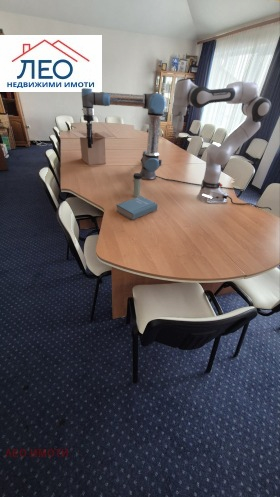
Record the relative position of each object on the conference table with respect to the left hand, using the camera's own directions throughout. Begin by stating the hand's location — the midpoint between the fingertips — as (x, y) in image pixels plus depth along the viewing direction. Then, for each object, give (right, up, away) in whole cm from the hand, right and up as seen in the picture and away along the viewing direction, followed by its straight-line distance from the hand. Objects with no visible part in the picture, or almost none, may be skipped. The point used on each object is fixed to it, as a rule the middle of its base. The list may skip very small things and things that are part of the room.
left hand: (90, 146), depth 173 cm
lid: (+37, -27, -13) cm, 48 cm away
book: (+37, -55, -24) cm, 71 cm away
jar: (+36, -40, -3) cm, 54 cm away
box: (-11, +13, +64) cm, 66 cm away
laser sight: (+51, +11, +67) cm, 85 cm away
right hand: (+62, -7, -29) cm, 69 cm away
